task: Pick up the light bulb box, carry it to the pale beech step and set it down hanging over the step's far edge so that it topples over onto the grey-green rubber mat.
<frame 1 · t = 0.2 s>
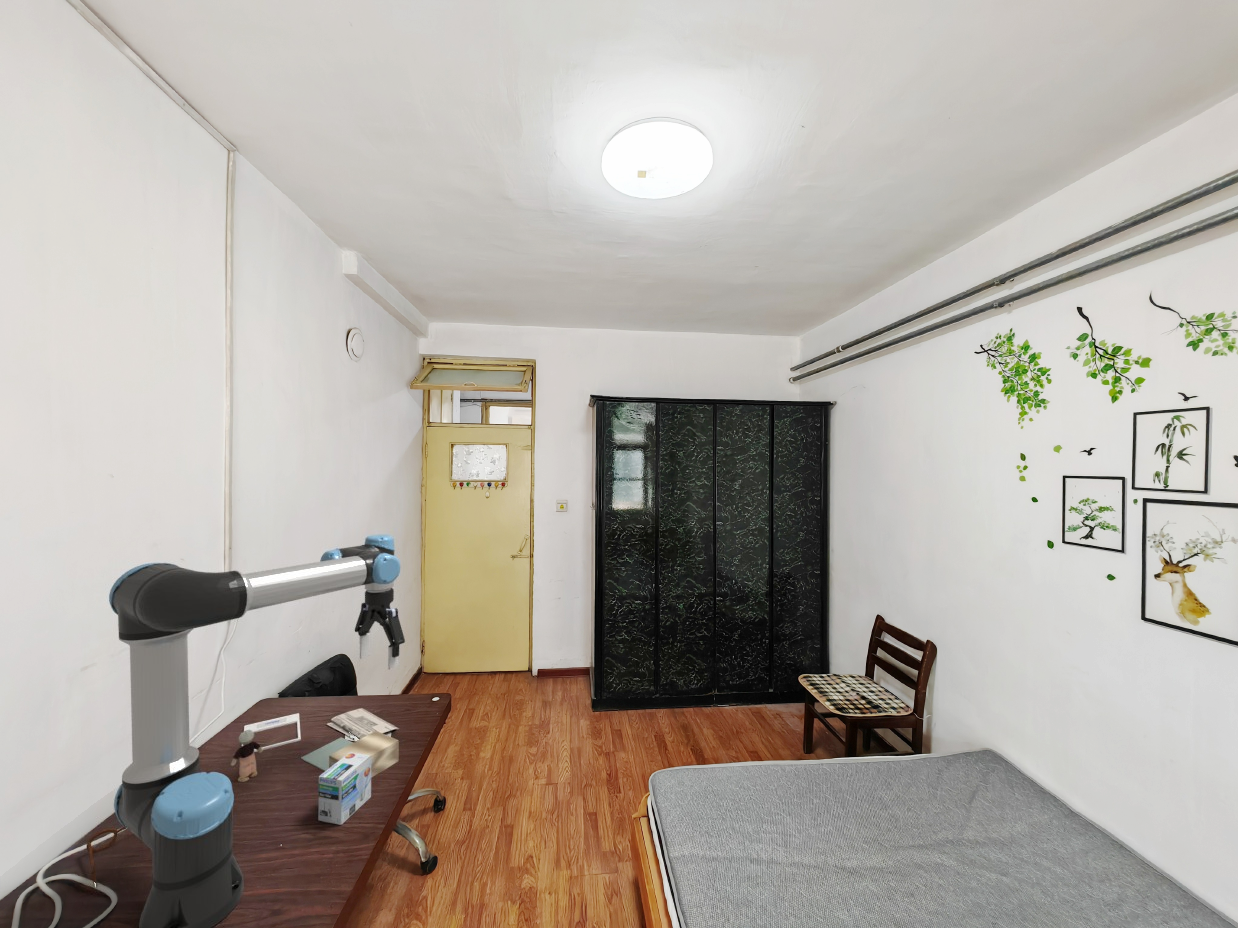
hand: (378, 662, 144), 27 cm above the table, fingers open, 13 cm apart
photo frame: (271, 735, 155), on the table
newspaper: (362, 730, 160), on the table
light bulb box: (345, 808, 123), on the table
beech step: (364, 768, 139), on the table
rubber mat: (336, 754, 145), on the table
glasses: (133, 855, 109), on the table
grandmother figurine: (246, 778, 134), on the table
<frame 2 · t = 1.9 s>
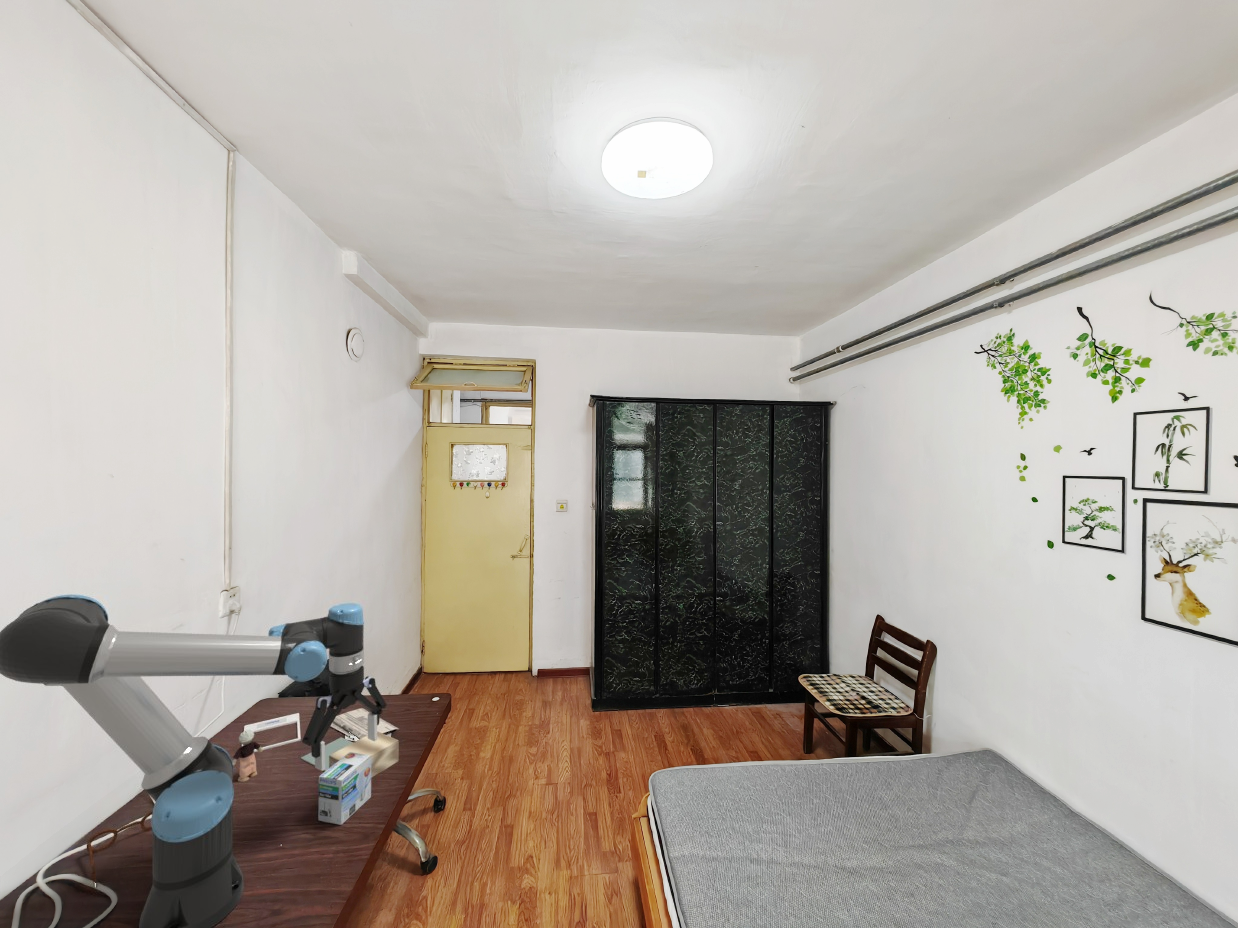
hand: (347, 753, 123), 14 cm above the table, fingers open, 13 cm apart
nothing on the table moved.
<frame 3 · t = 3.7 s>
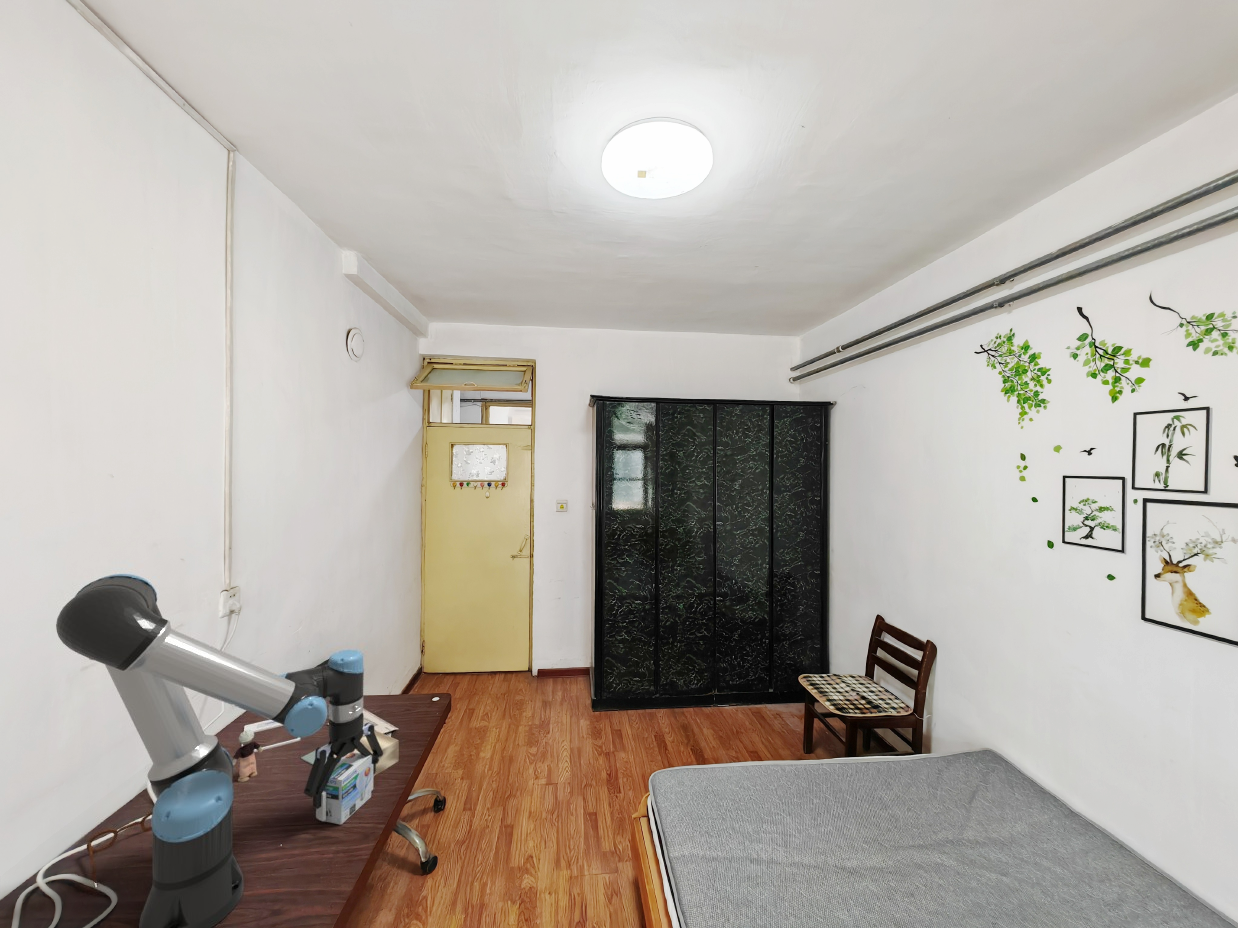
hand: (345, 802, 123), 1 cm above the table, fingers closed on light bulb box, 12 cm apart
light bulb box: (345, 808, 123), on the table, touching gripper
everything else where it was.
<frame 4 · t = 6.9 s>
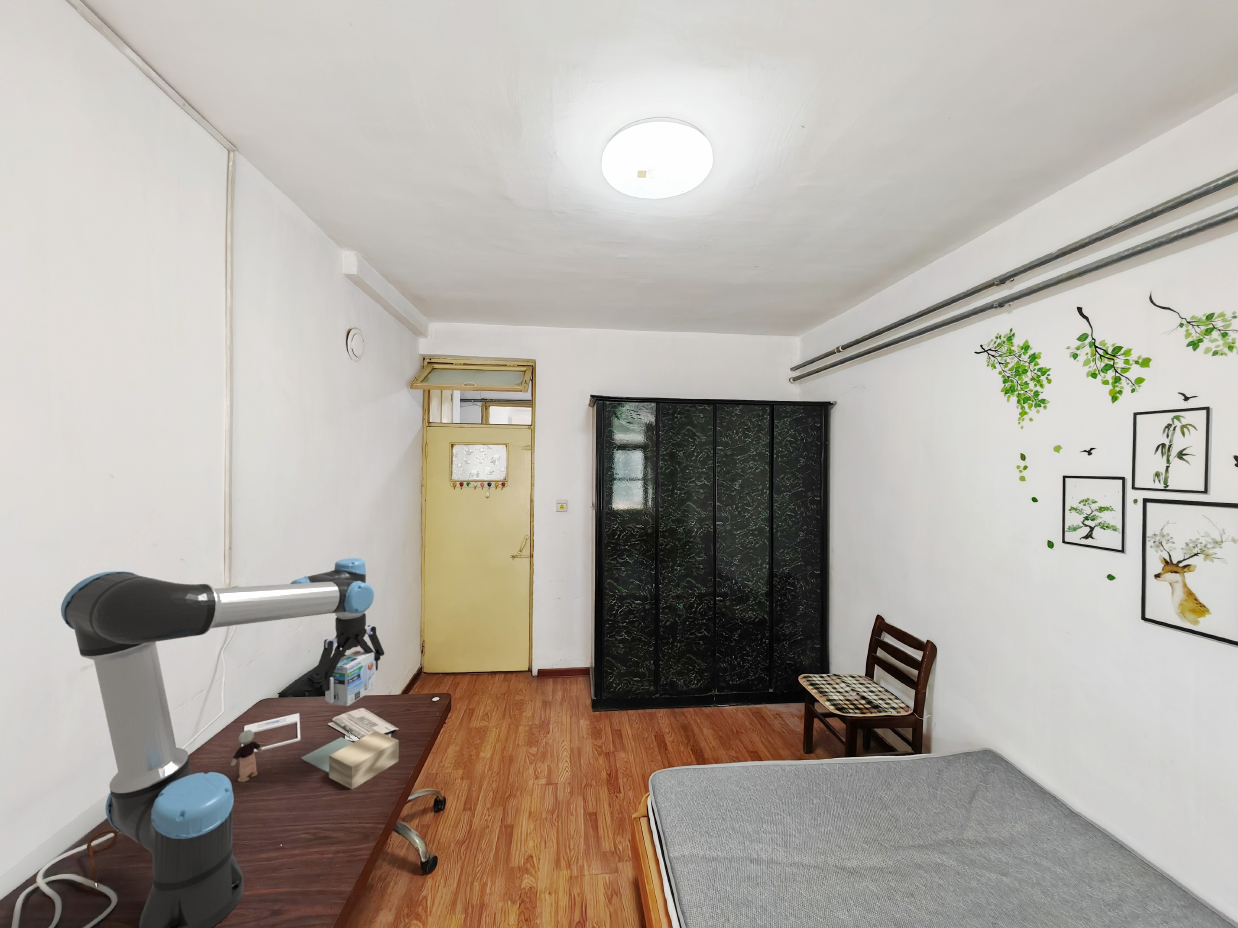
hand: (351, 691, 140), 21 cm above the table, fingers closed on light bulb box, 11 cm apart
light bulb box: (351, 696, 140), point 19 cm above the table, touching gripper
everything else where it was.
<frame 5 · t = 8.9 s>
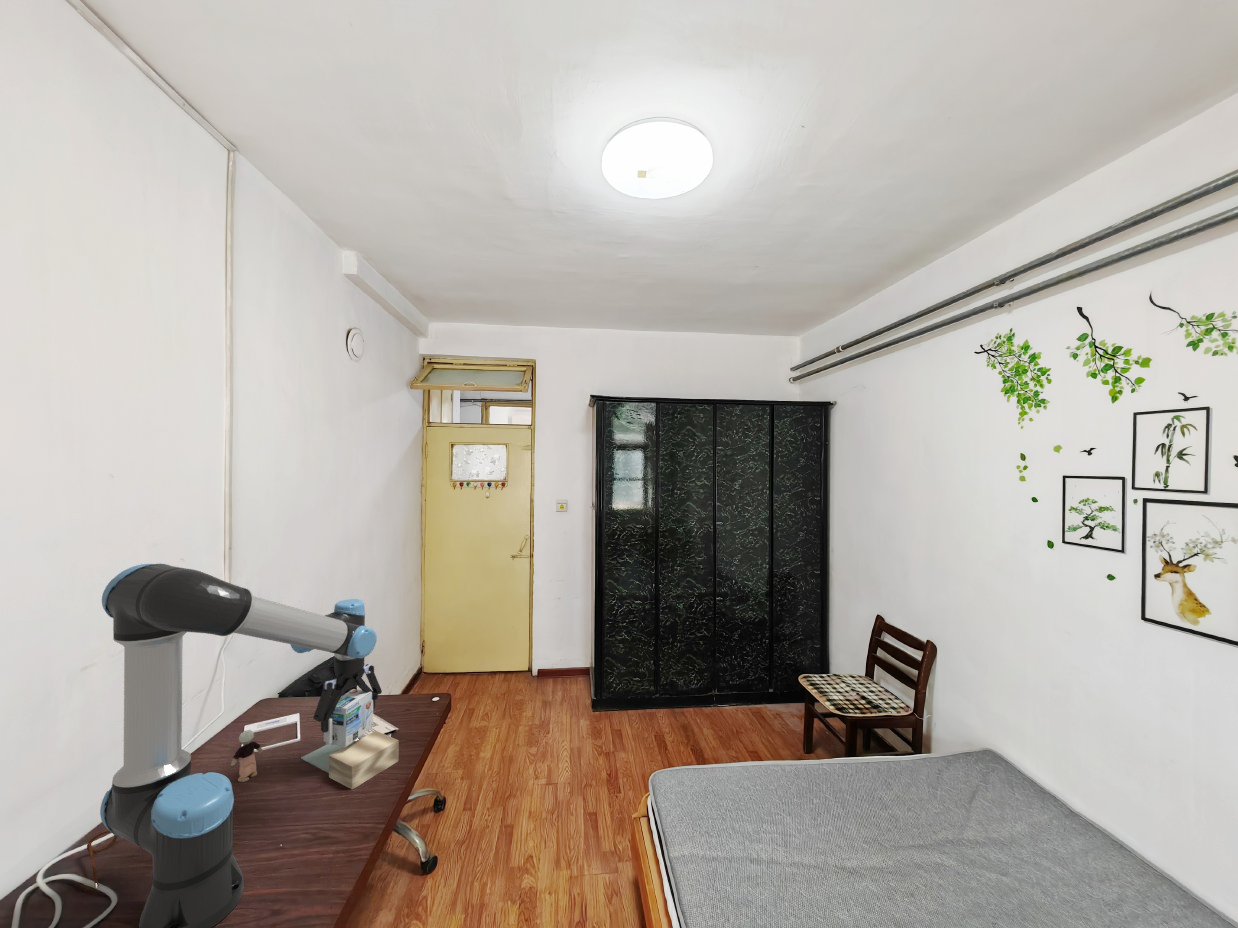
hand: (349, 731, 142), 9 cm above the table, fingers closed on light bulb box, 11 cm apart
light bulb box: (349, 736, 142), point 7 cm above the table, touching gripper
everything else where it was.
when the fingers open (8 cm above the table, at t = 10.0 s): light bulb box drops 3 cm, resting on rubber mat.
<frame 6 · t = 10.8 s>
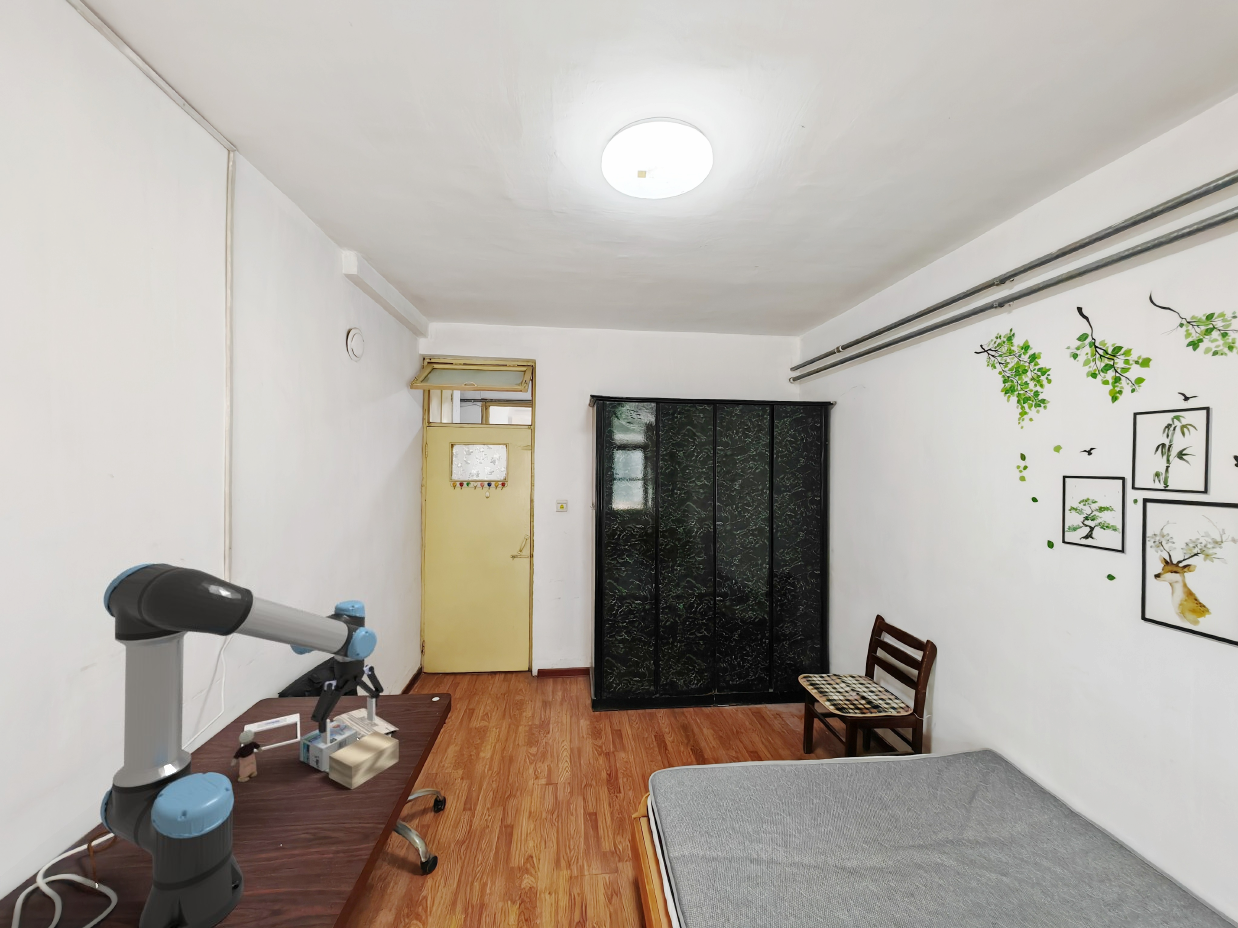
hand: (349, 730, 142), 9 cm above the table, fingers open, 13 cm apart
light bulb box: (341, 750, 141), point 4 cm above the table, touching rubber mat
everything else where it was.
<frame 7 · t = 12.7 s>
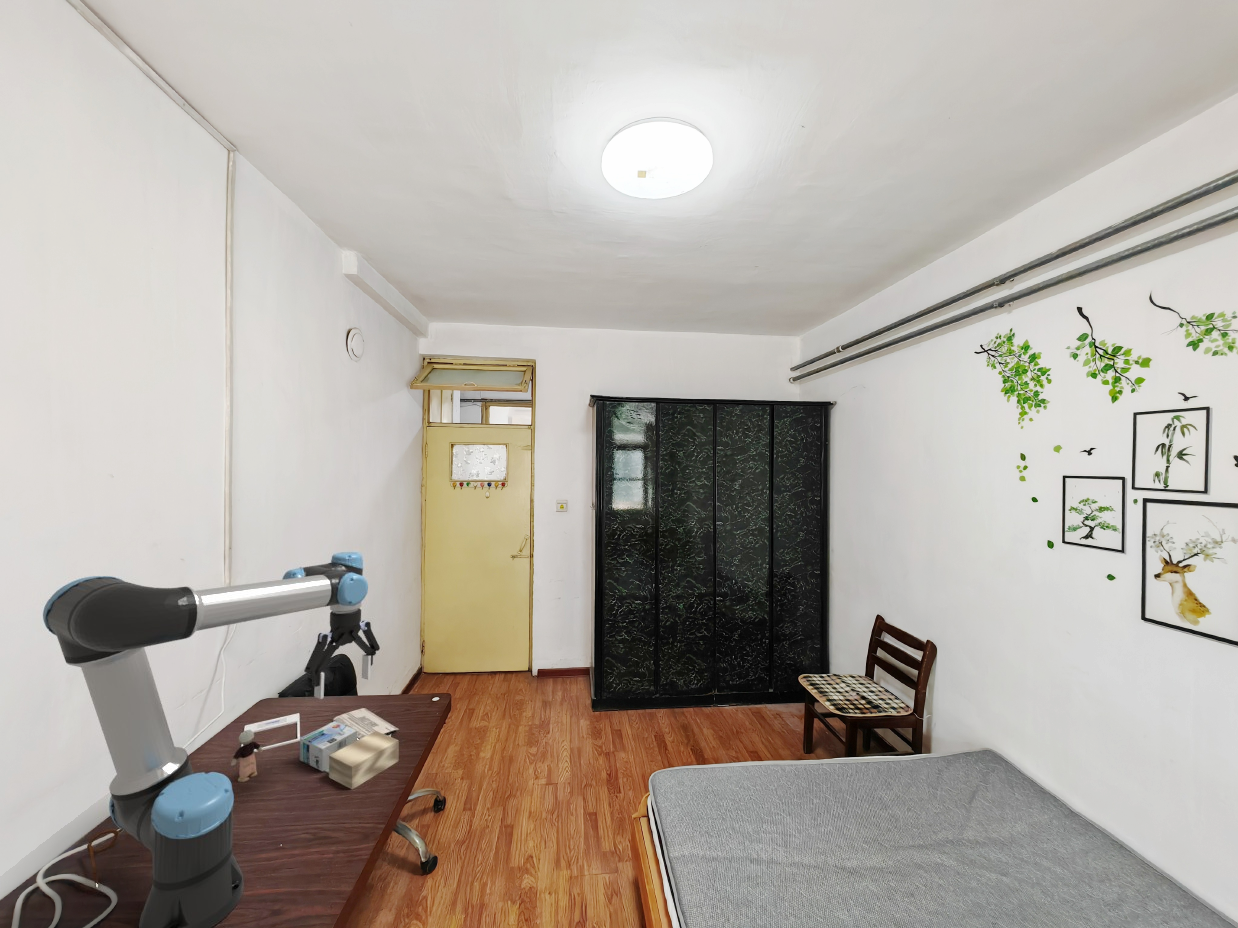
hand: (343, 687, 136), 24 cm above the table, fingers open, 13 cm apart
nothing on the table moved.
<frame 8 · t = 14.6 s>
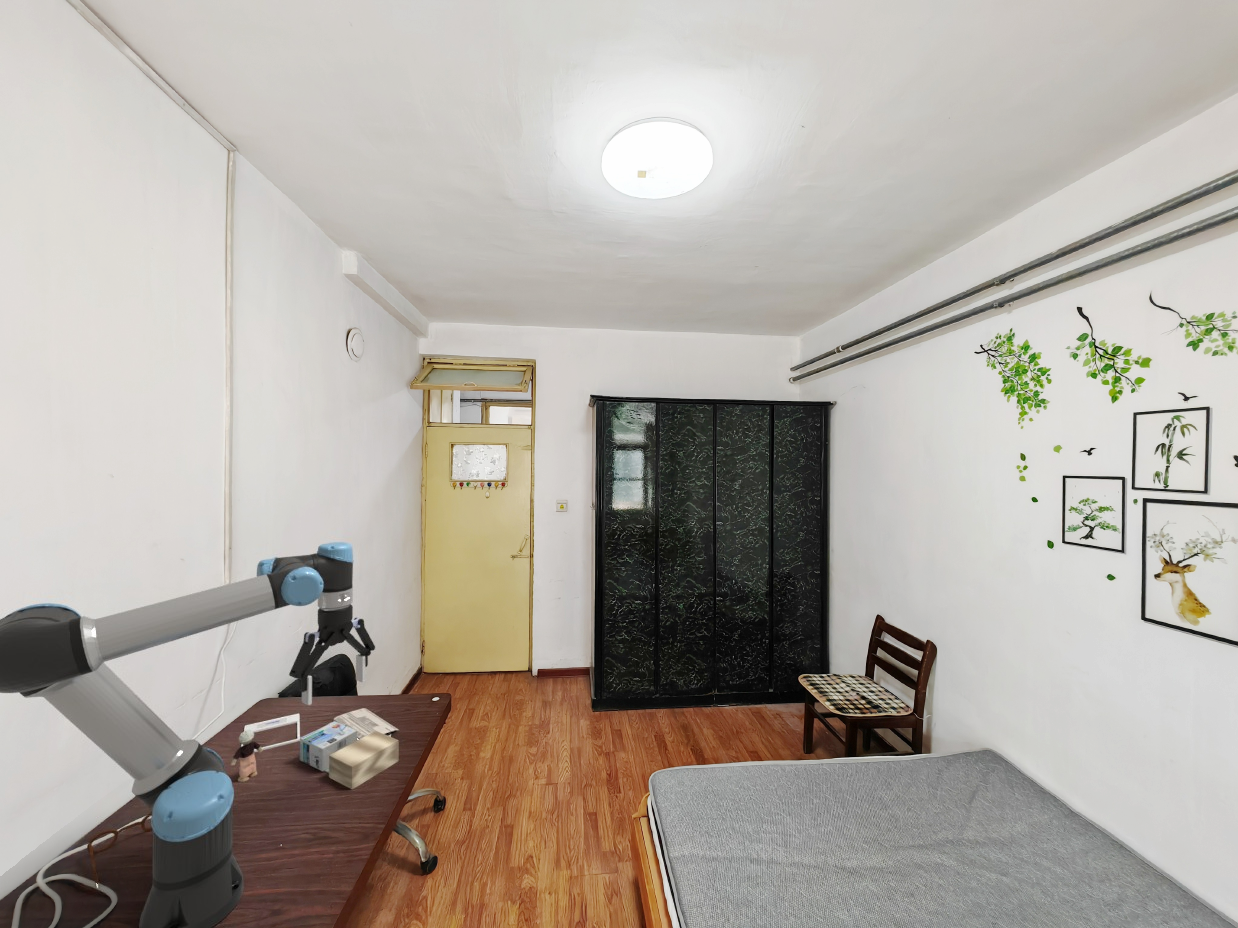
hand: (334, 691, 123), 29 cm above the table, fingers open, 13 cm apart
nothing on the table moved.
at the end: light bulb box tilted 89°; light bulb box inside the target area (8.2 cm from its centre), point 3.5 cm above the table; the gripper is holding nothing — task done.
